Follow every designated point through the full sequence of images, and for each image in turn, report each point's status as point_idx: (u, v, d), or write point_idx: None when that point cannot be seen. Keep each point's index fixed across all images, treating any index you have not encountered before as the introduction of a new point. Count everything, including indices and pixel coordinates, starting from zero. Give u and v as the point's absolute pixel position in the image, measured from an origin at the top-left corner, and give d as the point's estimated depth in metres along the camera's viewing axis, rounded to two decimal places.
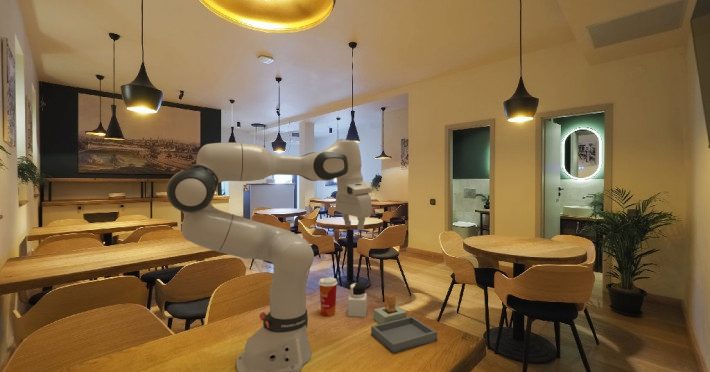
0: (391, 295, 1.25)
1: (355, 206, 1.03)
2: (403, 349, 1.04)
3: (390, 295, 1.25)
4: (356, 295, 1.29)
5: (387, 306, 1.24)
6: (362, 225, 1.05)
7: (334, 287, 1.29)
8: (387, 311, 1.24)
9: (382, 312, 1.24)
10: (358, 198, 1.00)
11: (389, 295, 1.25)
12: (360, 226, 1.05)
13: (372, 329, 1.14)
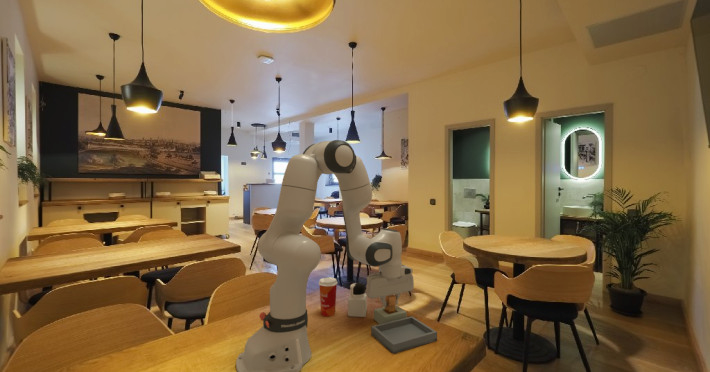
0: (391, 295, 1.25)
1: (406, 283, 1.26)
2: (403, 349, 1.04)
3: (390, 295, 1.25)
4: (356, 295, 1.29)
5: (387, 306, 1.24)
6: None
7: (334, 287, 1.29)
8: (387, 311, 1.24)
9: (382, 312, 1.24)
10: None
11: (389, 295, 1.25)
12: None
13: (372, 329, 1.14)
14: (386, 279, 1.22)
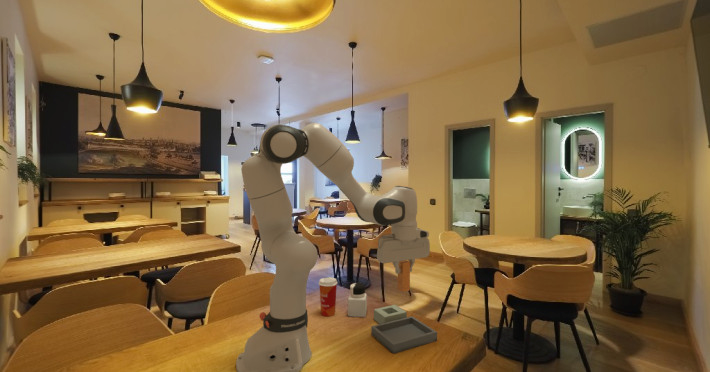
0: (405, 261, 1.12)
1: (421, 248, 1.13)
2: (403, 349, 1.04)
3: (404, 261, 1.12)
4: (356, 295, 1.29)
5: (400, 273, 1.11)
6: None
7: (334, 287, 1.29)
8: (400, 279, 1.11)
9: (382, 312, 1.24)
10: None
11: (403, 261, 1.12)
12: None
13: (372, 329, 1.14)
14: (400, 242, 1.08)
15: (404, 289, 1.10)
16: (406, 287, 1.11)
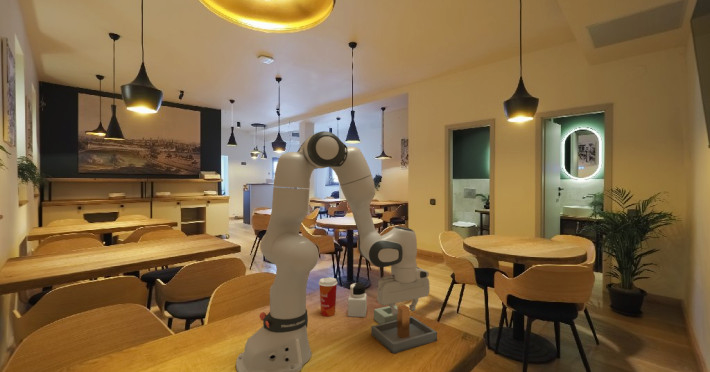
0: (404, 307, 1.12)
1: (421, 287, 1.13)
2: (403, 349, 1.04)
3: (403, 307, 1.12)
4: (356, 295, 1.29)
5: (400, 319, 1.11)
6: None
7: (334, 287, 1.29)
8: (400, 325, 1.11)
9: (382, 312, 1.24)
10: None
11: (402, 307, 1.12)
12: None
13: (372, 329, 1.14)
14: (400, 283, 1.09)
15: (404, 335, 1.11)
16: (406, 333, 1.11)
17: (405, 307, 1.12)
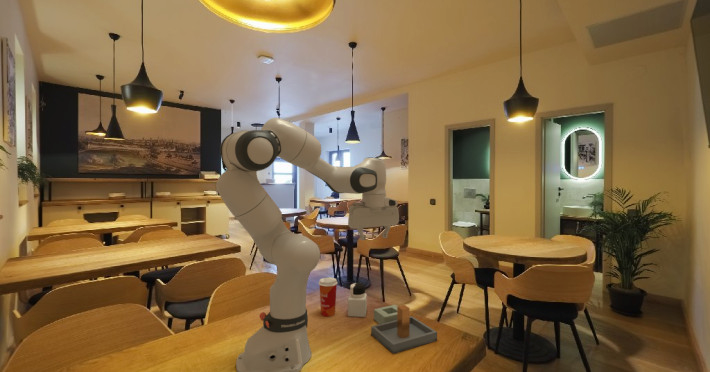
0: (404, 307, 1.12)
1: (390, 216, 1.21)
2: (403, 349, 1.04)
3: (403, 307, 1.12)
4: (356, 295, 1.29)
5: (400, 319, 1.11)
6: None
7: (334, 287, 1.29)
8: (400, 325, 1.11)
9: (382, 312, 1.24)
10: None
11: (402, 307, 1.12)
12: None
13: (372, 329, 1.14)
14: (369, 209, 1.16)
15: (404, 335, 1.11)
16: (406, 333, 1.11)
17: (405, 307, 1.12)
